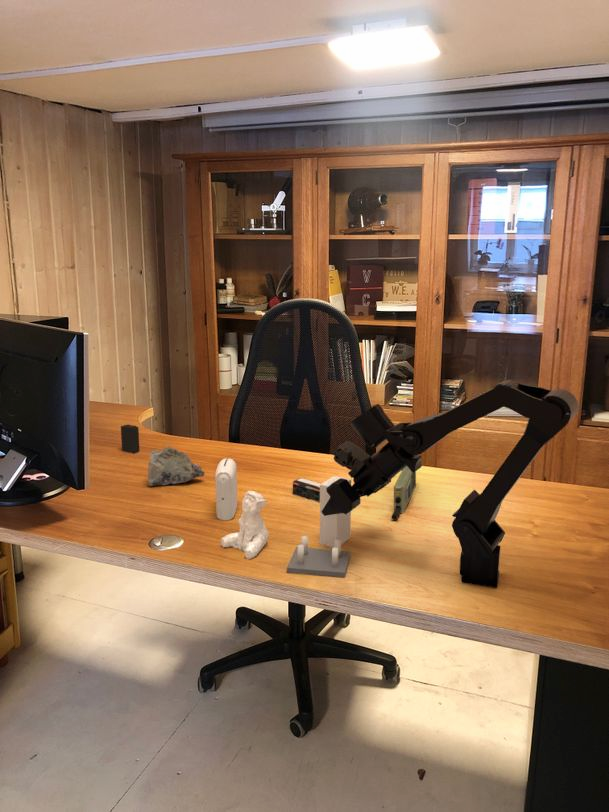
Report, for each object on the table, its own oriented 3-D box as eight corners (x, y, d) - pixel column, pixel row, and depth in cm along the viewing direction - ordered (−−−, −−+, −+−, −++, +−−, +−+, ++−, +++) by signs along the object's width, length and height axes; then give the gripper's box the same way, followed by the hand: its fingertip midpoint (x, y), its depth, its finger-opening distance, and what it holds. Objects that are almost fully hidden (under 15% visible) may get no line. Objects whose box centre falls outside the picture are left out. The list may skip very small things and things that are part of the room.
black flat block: (338, 520, 151) (338, 503, 150) (258, 494, 167) (258, 478, 166) (374, 501, 162) (374, 485, 161) (296, 479, 178) (296, 464, 177)
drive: (350, 537, 141) (351, 479, 138) (336, 548, 136) (337, 488, 133) (333, 533, 143) (334, 476, 140) (319, 543, 138) (319, 484, 135)
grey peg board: (350, 555, 133) (350, 534, 132) (344, 577, 124) (345, 555, 123) (296, 551, 135) (296, 530, 134) (286, 572, 126) (286, 550, 125)
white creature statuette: (218, 546, 137) (216, 491, 134) (249, 533, 143) (248, 480, 140) (249, 560, 131) (248, 503, 128) (280, 546, 137) (280, 491, 134)
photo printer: (234, 520, 150) (232, 468, 147) (215, 520, 150) (213, 468, 147) (239, 503, 160) (237, 454, 157) (221, 503, 160) (219, 454, 157)
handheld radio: (417, 485, 172) (402, 523, 148) (404, 484, 173) (387, 522, 149) (417, 460, 170) (401, 495, 147) (404, 460, 171) (386, 494, 148)
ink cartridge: (139, 451, 199) (138, 426, 197) (134, 454, 198) (133, 428, 196) (127, 449, 202) (126, 423, 200) (122, 451, 200) (120, 425, 198)
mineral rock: (207, 481, 175) (205, 444, 172) (182, 494, 165) (180, 456, 163) (167, 473, 180) (165, 438, 178) (141, 486, 171) (138, 449, 169)
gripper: (379, 421, 139) (332, 462, 147) (336, 444, 123) (286, 488, 132) (413, 464, 137) (363, 503, 145) (373, 492, 121) (320, 534, 130)
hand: (334, 506), depth 138 cm, fingers open, 9 cm apart
